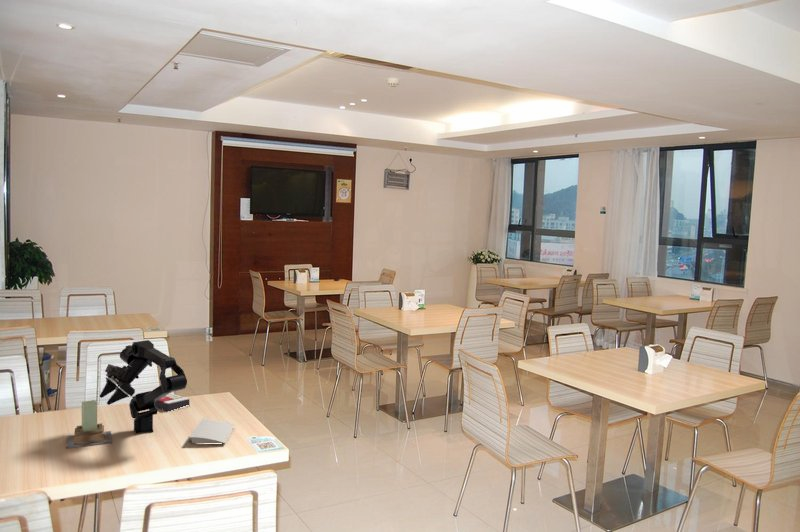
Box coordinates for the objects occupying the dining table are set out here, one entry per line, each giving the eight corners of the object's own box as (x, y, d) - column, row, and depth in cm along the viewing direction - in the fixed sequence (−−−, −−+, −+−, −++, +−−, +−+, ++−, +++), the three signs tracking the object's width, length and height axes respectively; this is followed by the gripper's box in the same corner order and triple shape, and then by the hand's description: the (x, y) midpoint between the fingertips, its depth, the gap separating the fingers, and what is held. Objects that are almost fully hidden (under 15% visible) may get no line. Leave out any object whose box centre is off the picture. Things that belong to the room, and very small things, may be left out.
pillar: (95, 428, 235) (95, 400, 234) (97, 431, 231) (97, 403, 230) (81, 430, 232) (81, 401, 231) (83, 433, 228) (83, 405, 227)
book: (182, 448, 229) (182, 438, 229) (198, 427, 252) (198, 417, 252) (224, 448, 230) (224, 438, 230) (235, 427, 253) (236, 418, 253)
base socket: (110, 432, 240) (110, 421, 240) (111, 443, 230) (111, 431, 229) (67, 437, 234) (67, 425, 233) (66, 448, 223) (66, 436, 223)
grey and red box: (171, 392, 285) (189, 397, 276) (171, 401, 286) (189, 407, 276) (149, 397, 277) (167, 402, 267) (149, 406, 277) (167, 412, 268)
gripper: (111, 351, 246) (81, 382, 239) (127, 363, 232) (95, 395, 226) (131, 367, 252) (102, 398, 246) (147, 380, 238) (117, 412, 232)
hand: (103, 400), depth 237 cm, fingers open, 9 cm apart
